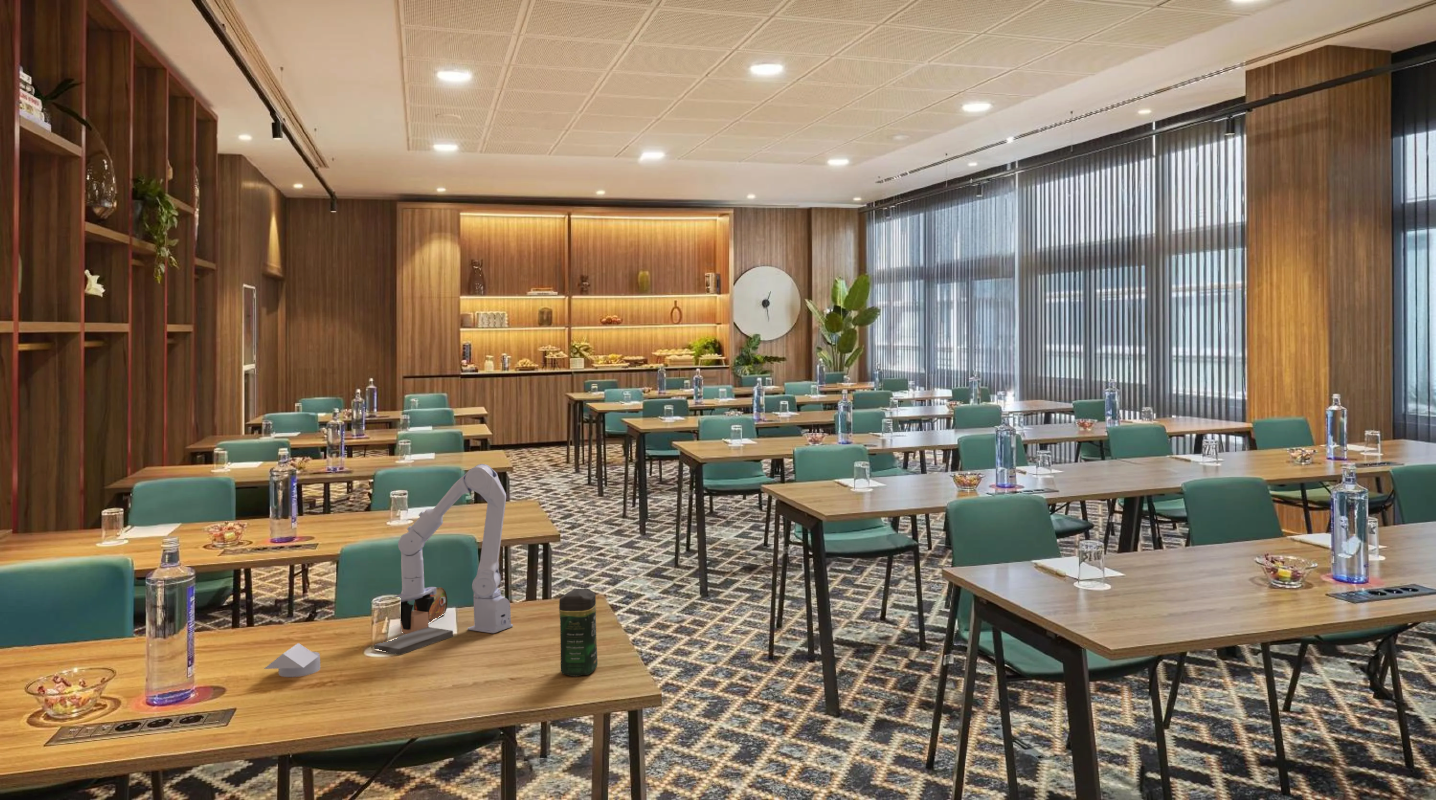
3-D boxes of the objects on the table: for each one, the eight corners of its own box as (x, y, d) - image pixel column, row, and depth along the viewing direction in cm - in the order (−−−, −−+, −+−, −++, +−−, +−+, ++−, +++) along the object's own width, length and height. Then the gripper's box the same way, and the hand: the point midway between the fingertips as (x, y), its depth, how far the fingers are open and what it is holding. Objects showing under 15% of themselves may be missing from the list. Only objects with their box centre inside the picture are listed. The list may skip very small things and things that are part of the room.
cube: (428, 630, 262) (428, 612, 261) (414, 635, 257) (413, 616, 257) (415, 628, 264) (414, 610, 264) (401, 633, 260) (400, 614, 260)
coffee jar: (591, 677, 218) (589, 595, 217) (557, 677, 218) (554, 595, 218) (601, 664, 227) (599, 585, 227) (568, 664, 228) (566, 585, 227)
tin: (422, 627, 265) (421, 596, 265) (412, 626, 266) (411, 596, 266) (449, 613, 280) (447, 584, 280) (438, 613, 281) (437, 584, 280)
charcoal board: (453, 636, 255) (452, 630, 255) (399, 654, 240) (399, 648, 239) (428, 632, 260) (428, 626, 260) (374, 650, 244) (374, 644, 244)
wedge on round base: (304, 682, 220) (326, 664, 233) (302, 652, 220) (325, 636, 233) (264, 683, 220) (288, 665, 233) (262, 654, 220) (287, 638, 233)
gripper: (422, 569, 269) (424, 618, 269) (380, 580, 256) (382, 631, 256) (441, 571, 265) (443, 621, 265) (399, 582, 252) (401, 634, 253)
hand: (414, 626), depth 261 cm, fingers closed on cube, 5 cm apart
